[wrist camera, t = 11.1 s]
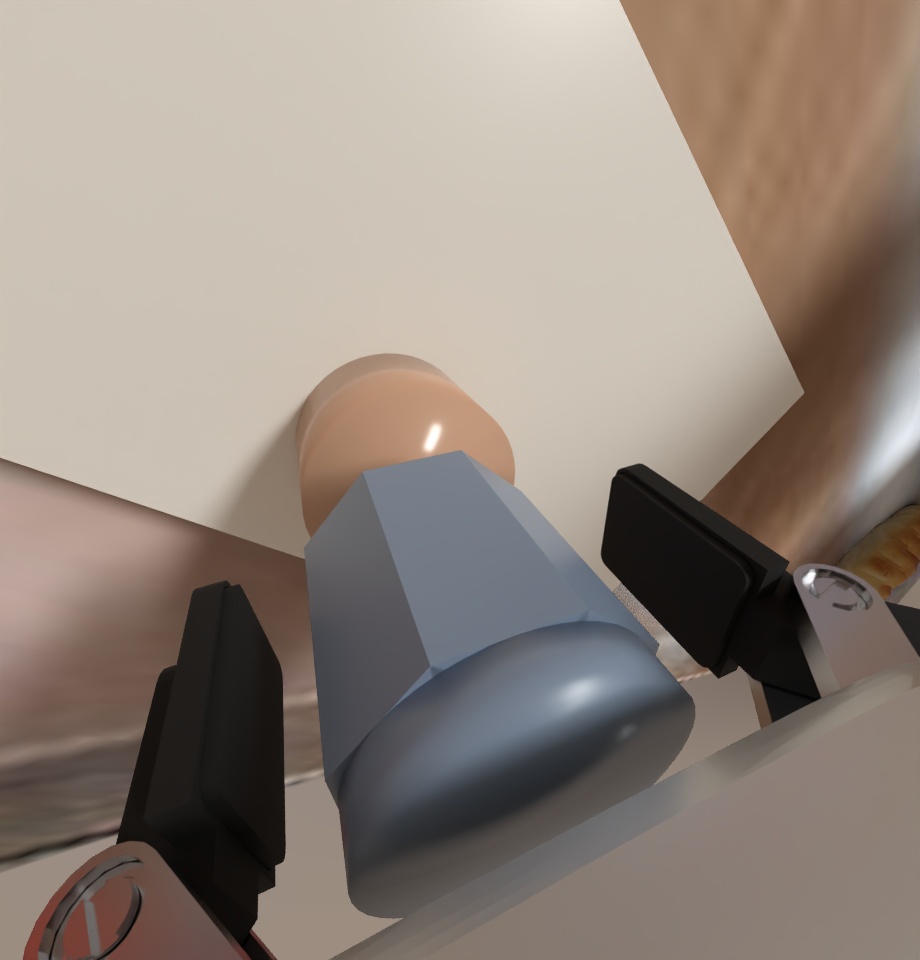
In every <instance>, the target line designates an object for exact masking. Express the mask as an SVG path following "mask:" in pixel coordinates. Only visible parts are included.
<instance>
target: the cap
mask: <svg viewBox="0 0 920 960" xmlns="http://www.w3.org/2000/svg"><path fill="white" fill-rule="evenodd" d="M304 553H305V564H306V575H307V586H308V598H309V609H310V620H311V631H312V642H313V653H314V664H315V675H316V686H317V697H318V709H319V720H320V731H321V742H322V753H323V764H324V775H325V782H326V783H327V786H328V788H329V790H330V792H331V794H332V796H333V798H334V800H335V802H336V805H337V807H338V809H339V813H340V822H341V831H342V841H343V850H344V858H345V868H346V877H347V886H348V894H349V897H350V899H351V902H352V904H353V905H354V906H355V907H356V908H357V909H358V910H359V911H361V912H363V913H365V914H367V915H370V916H374V917H379V918H405V917H407V916H409V915H410V914H412V913H414V912H416V911H418V910H419V909H421V908H423V907H425V906H427V905H428V904H430V903H432V902H434V901H436V900H438V899H440V898H442V897H443V896H445V895H447V894H449V893H451V892H453V891H455V890H457V889H458V888H460V887H462V886H464V885H466V884H468V883H470V882H472V881H473V880H475V879H477V878H479V877H481V876H483V875H485V874H487V873H489V872H490V871H492V870H494V869H496V868H498V867H500V866H502V865H504V864H505V863H507V862H509V861H511V860H513V859H515V858H517V857H519V856H520V855H522V854H524V853H526V852H528V851H530V850H532V849H534V848H536V847H537V846H539V845H541V844H543V843H545V842H547V841H549V840H551V839H552V838H554V837H556V836H558V835H560V834H562V833H564V832H566V831H567V830H569V829H571V828H573V827H575V826H577V825H579V824H581V823H583V822H585V821H586V820H588V819H590V818H592V817H594V816H596V815H598V814H600V813H602V812H604V811H605V810H607V809H609V808H611V807H613V806H615V805H617V804H619V803H621V802H623V801H624V800H626V799H628V798H630V797H632V796H634V795H636V794H638V793H640V792H642V791H643V790H645V789H647V788H649V787H651V786H652V785H653V784H654V783H655V782H656V781H657V780H658V779H659V778H660V777H661V776H662V775H663V773H664V772H665V771H666V770H667V769H668V767H669V766H670V765H671V764H672V762H673V761H674V760H675V758H676V757H677V756H678V754H679V753H680V751H681V750H682V748H683V746H684V744H685V743H686V741H687V739H688V737H689V735H690V733H691V730H692V728H693V724H694V720H695V705H694V702H693V699H692V697H691V696H690V695H689V694H688V693H687V692H686V690H685V689H684V688H683V687H682V686H681V685H680V684H679V682H678V681H677V680H676V679H675V678H674V677H673V675H672V674H671V673H670V672H669V671H668V670H667V669H666V667H665V666H664V665H663V664H662V663H661V662H660V660H659V659H658V658H657V657H656V656H655V655H656V652H657V649H658V646H659V643H658V642H657V641H656V640H655V639H654V638H653V637H652V636H651V635H650V633H649V632H648V631H647V630H646V629H645V628H644V627H643V626H642V625H641V623H640V622H639V621H638V620H637V619H636V618H635V617H634V616H633V615H632V613H631V612H630V611H629V610H628V609H627V608H626V607H625V606H624V605H623V603H622V602H621V601H620V600H619V599H618V598H617V597H616V596H615V595H614V593H613V592H612V591H611V590H610V589H609V588H608V587H607V586H606V585H605V584H604V582H603V581H602V580H601V579H600V578H599V577H598V576H597V575H596V574H595V572H594V571H593V570H592V569H591V568H590V567H589V566H588V565H587V564H586V562H585V561H584V560H583V559H582V558H581V557H580V556H579V555H578V554H577V552H576V551H575V550H574V549H573V548H572V547H571V546H570V545H569V544H568V542H567V541H566V540H565V539H564V538H563V537H562V536H561V535H560V534H559V532H558V531H557V530H556V529H555V528H554V527H553V526H552V525H551V524H550V522H549V521H548V520H547V519H546V518H545V517H544V516H543V515H542V514H541V512H540V511H539V510H538V509H537V508H536V507H535V506H534V505H533V504H532V502H531V501H530V500H529V499H528V498H527V497H526V496H525V495H524V494H523V493H522V491H520V490H519V489H517V488H516V487H514V486H513V485H512V484H510V483H509V482H507V481H506V480H504V479H503V478H501V477H500V476H498V475H497V474H496V473H494V472H493V471H491V470H490V469H488V468H487V467H485V466H484V465H482V464H481V463H479V462H478V461H477V460H475V459H474V458H472V457H471V456H469V455H468V454H466V453H465V452H463V451H462V450H458V451H454V452H449V453H444V454H440V455H435V456H431V457H426V458H422V459H417V460H413V461H408V462H404V463H399V464H394V465H390V466H385V467H381V468H376V469H372V470H367V471H363V472H362V473H361V474H360V476H359V477H358V478H357V480H356V481H355V482H354V483H353V485H352V486H351V487H350V489H349V490H348V491H347V493H346V494H345V495H344V496H343V498H342V499H341V500H340V502H339V503H338V504H337V505H336V507H335V508H334V509H333V511H332V512H331V513H330V514H329V516H328V517H327V518H326V520H325V521H324V522H323V524H322V525H321V526H320V527H319V529H318V530H317V531H316V533H315V534H314V535H313V536H312V538H311V539H310V540H309V542H308V543H307V544H306V545H305V547H304Z"/></svg>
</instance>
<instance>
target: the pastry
mask: <svg viewBox="0 0 920 960" xmlns="http://www.w3.org/2000/svg"><path fill="white" fill-rule="evenodd" d="M919 562H920V505H910V506H907V507H905V508H902V509H901V510H899V511H898V512H897V513H896V514H895V515H894V516H892V517H890V518H889V519H887V520H886V521H885V522H883V523H881V524H880V525H878V526H877V527H875V528H874V529H873V530H872V532H871V533H869V534H868V535H867V536H866V537H865V538H864V539H863V540H861V541H860V542H859V543H858V544H857V545H856V546H854V547H853V548H852V549H851V550H850V551H849V552H848V553H847V554H846V555H845V556H844V557H843V558H842V559H841V560H840V561H839V562H838V564H837V565H836V567H838V568H840V569H843V570H846V571H848V572H851V573H853V574H854V575H856V576H858V577H860V578H862V579H863V580H865V581H866V582H867V583H868V584H870V585H871V586H872V587H873V588H874V589H875V590H876V591H877V592H878V593H879V595H880V596H881V597H882V599H883V600H885V599H886V598H887V597H888V596H889V595H890V594H891V592H890V591H891V590H892V589H893V588H895V587H896V586H898V585H899V584H901V583H903V582H904V581H905V580H906V579H907V578H909V577H910V576H912V575H913V574H914V573H915V572H916V571H917V569H916V568H917V565H918V563H919Z"/></svg>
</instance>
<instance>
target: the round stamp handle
mask: <svg viewBox="0 0 920 960" xmlns="http://www.w3.org/2000/svg"><path fill="white" fill-rule="evenodd" d="M296 448H297V459H298V469H299V480H300V490H301V501H302V511H303V518H304V522H305V526H306V529H307V531H308V533H309V535H310V538H312V536H313V535H314V534H315V533H316V531H317V530H318V529H319V527H320V526H321V525H322V524H323V522H324V521H325V520H326V518H327V517H328V516H329V514H330V513H331V512H332V511H333V509H334V508H335V507H336V505H337V504H338V503H339V502H340V500H341V499H342V498H343V496H344V495H345V494H346V493H347V491H348V490H349V489H350V487H351V486H352V485H353V483H354V482H355V481H356V480H357V478H358V477H359V476H360V474H361V473H362V472H363V471H367V470H372V469H376V468H381V467H385V466H390V465H394V464H399V463H404V462H408V461H413V460H417V459H422V458H426V457H431V456H435V455H440V454H444V453H449V452H454V451H458V450H462V451H463V452H465V453H466V454H468V455H469V456H471V457H472V458H474V459H475V460H477V461H478V462H479V463H481V464H482V465H484V466H485V467H487V468H488V469H490V470H491V471H493V472H494V473H496V474H497V475H498V476H500V477H501V478H503V479H504V480H506V481H507V482H509V483H510V484H512V485H513V486H514V481H515V462H514V456H513V452H512V448H511V446H510V443H509V441H508V438H507V436H506V435H505V433H504V431H503V430H502V428H501V427H500V426H499V425H498V423H497V422H496V421H495V420H494V419H493V418H492V417H491V416H490V415H489V414H488V413H487V412H486V411H485V410H484V409H482V408H481V407H480V406H479V405H478V404H477V403H476V402H475V401H474V400H473V399H472V398H471V397H469V396H468V395H467V394H466V393H465V392H464V391H463V390H462V389H461V388H460V387H459V386H458V385H456V384H455V383H454V382H453V381H452V380H451V379H450V378H449V377H448V376H447V375H445V374H444V373H443V372H442V371H441V370H440V369H438V368H436V367H435V366H433V365H432V364H430V363H428V362H426V361H424V360H422V359H419V358H415V357H412V356H409V355H402V354H390V353H384V354H375V355H369V356H365V357H361V358H358V359H356V360H353V361H350V362H348V363H346V364H344V365H342V366H341V367H339V368H337V369H336V370H334V371H333V372H331V373H330V374H329V375H327V376H326V377H325V378H324V379H323V380H322V381H321V382H320V383H319V384H318V385H317V386H316V387H315V389H314V390H313V391H312V393H311V394H310V395H309V397H308V399H307V400H306V402H305V404H304V406H303V408H302V411H301V413H300V416H299V420H298V424H297V429H296Z"/></svg>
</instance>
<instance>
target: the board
mask: <svg viewBox="0 0 920 960" xmlns="http://www.w3.org/2000/svg"><path fill="white" fill-rule="evenodd" d="M384 353H390V354H402V355H409V356H412V357H415V358H419V359H422V360H424V361H426V362H428V363H430V364H432V365H433V366H435V367H436V368H438V369H440V370H441V371H442V372H443V373H444V374H445V375H447V376H448V377H449V378H450V379H451V380H452V381H453V382H454V383H455V384H456V385H458V386H459V387H460V388H461V389H462V390H463V391H464V392H465V393H466V394H467V395H468V396H469V397H471V398H472V399H473V400H474V401H475V402H476V403H477V404H478V405H479V406H480V407H481V408H482V409H484V410H485V411H486V412H487V413H488V414H489V415H490V416H491V417H492V418H493V419H494V420H495V421H496V422H497V423H498V425H499V426H500V427H501V428H502V430H503V431H504V433H505V435H506V436H507V438H508V441H509V443H510V446H511V448H512V452H513V456H514V462H515V481H514V487H516V488H517V489H519V490H520V491H522V493H523V494H524V495H525V496H526V497H527V498H528V499H529V500H530V501H531V502H532V504H533V505H534V506H535V507H536V508H537V509H538V510H539V511H540V512H541V514H542V515H543V516H544V517H545V518H546V519H547V520H548V521H549V522H550V524H551V525H552V526H553V527H554V528H555V529H556V530H557V531H558V532H559V534H560V535H561V536H562V537H563V538H564V539H565V540H566V541H567V542H568V544H569V545H570V546H571V547H572V548H573V549H574V550H575V551H576V552H577V554H578V555H579V556H580V557H581V558H582V559H583V560H584V561H585V562H586V564H587V565H588V566H589V567H590V568H591V569H592V570H593V571H594V572H595V574H596V575H597V576H598V577H599V578H600V579H601V580H602V581H603V582H604V584H605V585H606V586H607V587H608V588H609V589H610V590H611V591H612V592H613V591H614V590H615V589H616V588H617V587H618V586H619V585H620V584H621V582H620V581H619V580H618V579H617V577H616V576H615V575H614V574H613V573H612V572H611V571H610V570H609V569H608V568H607V567H606V566H605V564H604V563H603V561H602V558H601V546H602V540H603V533H604V527H605V520H606V514H607V507H608V501H609V494H610V488H611V481H612V478H613V477H614V476H615V475H616V472H617V471H618V470H619V469H621V468H624V467H627V466H631V465H635V464H638V463H640V464H644V465H646V466H647V467H649V468H650V469H652V470H653V471H655V472H656V473H658V474H659V475H661V476H662V477H664V478H665V479H667V480H668V481H670V482H671V483H673V484H674V485H676V486H677V487H679V488H680V489H682V490H683V491H685V492H686V493H688V494H689V495H691V496H692V497H694V498H695V499H697V500H698V501H701V500H702V499H703V498H704V497H705V496H706V495H707V494H708V493H709V492H710V490H711V489H712V488H713V487H714V486H715V485H716V484H717V483H718V482H719V481H720V480H721V479H722V478H723V477H724V476H725V475H726V474H727V473H728V472H729V471H730V470H731V469H732V468H733V467H734V466H735V465H736V464H737V462H738V461H739V460H740V459H741V458H742V457H743V456H744V455H745V454H746V453H747V452H748V451H749V450H750V449H751V448H752V447H753V446H754V445H755V444H756V443H757V442H758V441H759V440H760V439H761V438H762V437H763V436H764V434H765V433H766V432H767V431H768V430H769V429H770V428H771V427H772V426H773V425H774V424H775V423H776V422H777V421H778V420H779V419H780V418H781V417H782V416H783V415H784V414H785V413H786V412H787V411H788V410H789V409H790V408H791V406H792V405H793V404H794V403H795V402H796V401H797V400H798V399H799V398H800V397H801V396H802V395H803V394H804V391H803V388H802V386H801V384H800V382H799V380H798V378H797V376H796V374H795V372H794V369H793V367H792V365H791V363H790V361H789V359H788V357H787V355H786V352H785V350H784V348H783V346H782V344H781V342H780V340H779V338H778V336H777V333H776V331H775V329H774V327H773V325H772V323H771V321H770V319H769V316H768V314H767V312H766V310H765V308H764V306H763V304H762V302H761V300H760V297H759V295H758V293H757V291H756V289H755V287H754V285H753V283H752V281H751V278H750V276H749V274H748V272H747V270H746V268H745V266H744V264H743V261H742V259H741V257H740V255H739V253H738V251H737V249H736V247H735V245H734V242H733V240H732V238H731V236H730V234H729V232H728V230H727V228H726V226H725V223H724V221H723V219H722V217H721V215H720V213H719V211H718V209H717V206H716V204H715V202H714V200H713V198H712V196H711V194H710V192H709V190H708V187H707V185H706V183H705V181H704V179H703V177H702V175H701V173H700V171H699V168H698V166H697V164H696V162H695V160H694V158H693V156H692V154H691V151H690V149H689V147H688V145H687V143H686V141H685V139H684V137H683V135H682V132H681V130H680V128H679V126H678V124H677V122H676V120H675V118H674V115H673V113H672V111H671V109H670V107H669V105H668V103H667V101H666V99H665V96H664V94H663V92H662V90H661V88H660V86H659V84H658V82H657V80H656V77H655V75H654V73H653V71H652V69H651V67H650V65H649V63H648V60H647V58H646V56H645V54H644V52H643V50H642V48H641V46H640V44H639V41H638V39H637V37H636V35H635V33H634V31H633V29H632V27H631V25H630V22H629V20H628V18H627V16H626V14H625V12H624V10H623V8H622V5H621V3H620V1H619V0H0V458H3V459H6V460H9V461H12V462H15V463H18V464H21V465H24V466H27V467H30V468H33V469H36V470H39V471H42V472H45V473H48V474H51V475H54V476H57V477H60V478H63V479H66V480H69V481H72V482H75V483H78V484H81V485H84V486H87V487H90V488H93V489H96V490H99V491H102V492H105V493H108V494H111V495H114V496H117V497H120V498H123V499H126V500H129V501H132V502H135V503H138V504H141V505H144V506H147V507H150V508H153V509H156V510H159V511H162V512H165V513H168V514H171V515H174V516H177V517H180V518H183V519H185V520H188V521H191V522H194V523H197V524H200V525H203V526H206V527H209V528H212V529H215V530H218V531H221V532H224V533H227V534H230V535H233V536H236V537H239V538H242V539H245V540H248V541H251V542H254V543H257V544H260V545H263V546H266V547H269V548H272V549H275V550H278V551H281V552H284V553H287V554H290V555H293V556H296V557H299V558H302V559H305V553H304V547H305V545H306V544H307V543H308V542H309V540H310V539H311V538H310V535H309V533H308V531H307V529H306V526H305V522H304V518H303V511H302V501H301V490H300V480H299V469H298V459H297V448H296V429H297V424H298V420H299V416H300V413H301V411H302V408H303V406H304V404H305V402H306V400H307V399H308V397H309V395H310V394H311V393H312V391H313V390H314V389H315V387H316V386H317V385H318V384H319V383H320V382H321V381H322V380H323V379H324V378H325V377H326V376H327V375H329V374H330V373H331V372H333V371H334V370H336V369H337V368H339V367H341V366H342V365H344V364H346V363H348V362H350V361H353V360H356V359H358V358H361V357H365V356H369V355H375V354H384Z"/></svg>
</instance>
